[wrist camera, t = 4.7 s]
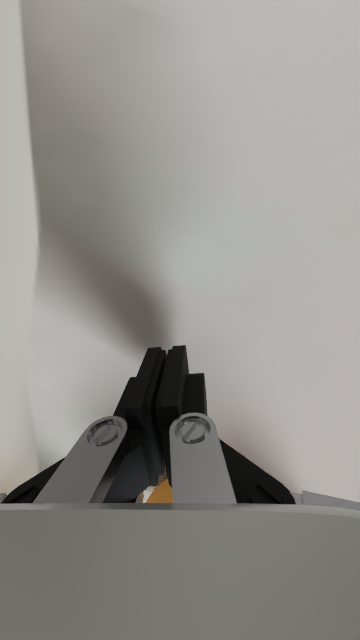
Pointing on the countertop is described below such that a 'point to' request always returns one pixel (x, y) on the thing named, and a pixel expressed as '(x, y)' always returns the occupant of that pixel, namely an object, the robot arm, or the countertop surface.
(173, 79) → the countertop surface
